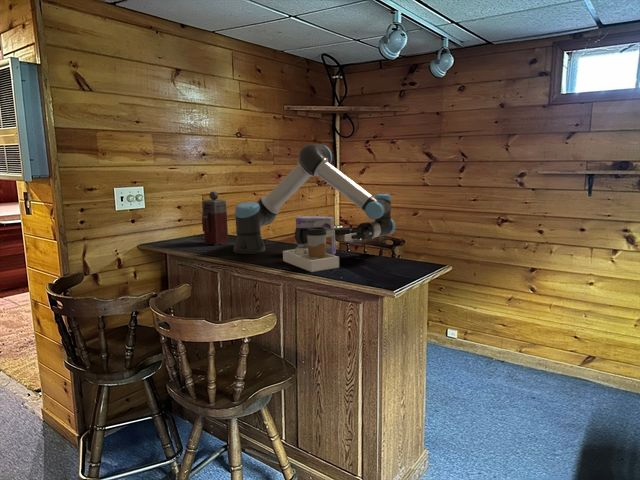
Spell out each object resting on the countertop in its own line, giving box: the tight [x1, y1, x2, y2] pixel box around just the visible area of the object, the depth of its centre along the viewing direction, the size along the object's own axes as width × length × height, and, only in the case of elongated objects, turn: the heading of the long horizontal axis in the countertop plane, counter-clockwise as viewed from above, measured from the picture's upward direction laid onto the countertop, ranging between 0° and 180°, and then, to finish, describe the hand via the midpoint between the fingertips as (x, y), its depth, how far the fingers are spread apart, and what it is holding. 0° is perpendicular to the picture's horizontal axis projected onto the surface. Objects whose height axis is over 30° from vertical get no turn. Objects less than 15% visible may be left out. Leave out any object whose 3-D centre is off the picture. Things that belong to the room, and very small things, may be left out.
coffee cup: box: [306, 227, 327, 260], centre depth 197 cm, size 8×8×15 cm
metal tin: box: [294, 247, 309, 255], centre depth 208 cm, size 7×7×5 cm
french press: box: [201, 190, 229, 245], centre depth 253 cm, size 9×11×28 cm
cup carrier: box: [282, 248, 340, 273], centre depth 203 cm, size 25×13×4 cm, turn 31°
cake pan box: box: [294, 215, 337, 255], centre depth 223 cm, size 19×5×18 cm, turn 65°
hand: (333, 236), depth 203 cm, fingers open, 13 cm apart
